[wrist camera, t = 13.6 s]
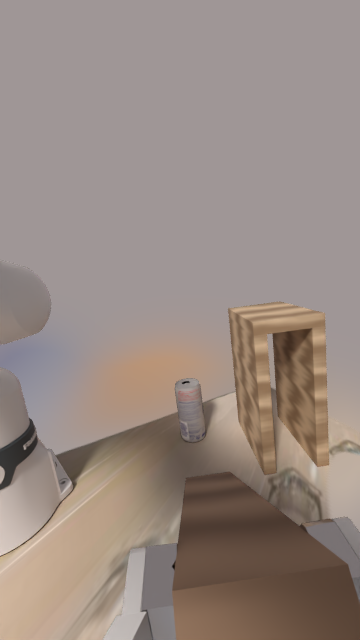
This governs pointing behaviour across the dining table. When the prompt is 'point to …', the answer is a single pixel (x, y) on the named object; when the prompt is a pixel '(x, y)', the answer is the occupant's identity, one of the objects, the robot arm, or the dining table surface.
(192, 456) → the dining table surface
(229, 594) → the walnut board
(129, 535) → the dining table surface
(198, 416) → the energy drink
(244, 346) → the oak arch
